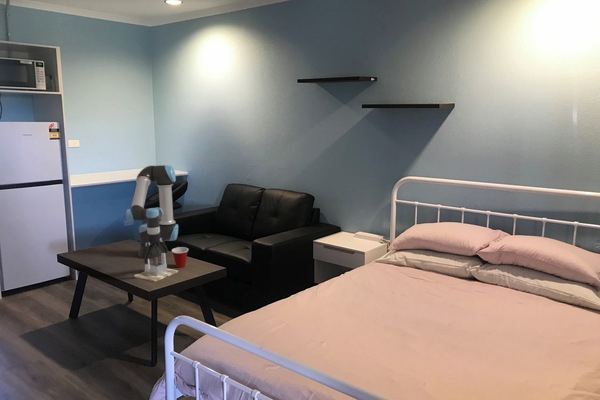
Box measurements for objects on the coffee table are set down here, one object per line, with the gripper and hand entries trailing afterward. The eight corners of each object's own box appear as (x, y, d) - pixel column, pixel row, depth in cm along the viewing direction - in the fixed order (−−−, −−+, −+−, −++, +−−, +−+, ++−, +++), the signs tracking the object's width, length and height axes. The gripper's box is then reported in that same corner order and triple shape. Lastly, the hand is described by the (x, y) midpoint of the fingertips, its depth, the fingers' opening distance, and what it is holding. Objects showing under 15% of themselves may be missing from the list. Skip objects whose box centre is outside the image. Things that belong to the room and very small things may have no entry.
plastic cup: (172, 270, 307) (171, 252, 305) (172, 265, 317) (171, 247, 315) (189, 268, 310) (188, 250, 308) (188, 263, 320) (187, 246, 318)
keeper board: (157, 267, 312) (156, 251, 310) (178, 272, 303) (177, 254, 301) (133, 276, 294) (132, 259, 292) (155, 281, 286) (153, 263, 284)
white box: (154, 269, 305) (153, 260, 304) (167, 272, 300) (166, 263, 298) (145, 273, 298) (144, 264, 297) (157, 276, 293) (157, 266, 292)
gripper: (142, 238, 281) (145, 272, 285) (172, 229, 303) (174, 261, 307) (133, 237, 285) (136, 270, 289) (163, 228, 306) (165, 259, 311)
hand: (155, 265), depth 298 cm, fingers open, 13 cm apart
